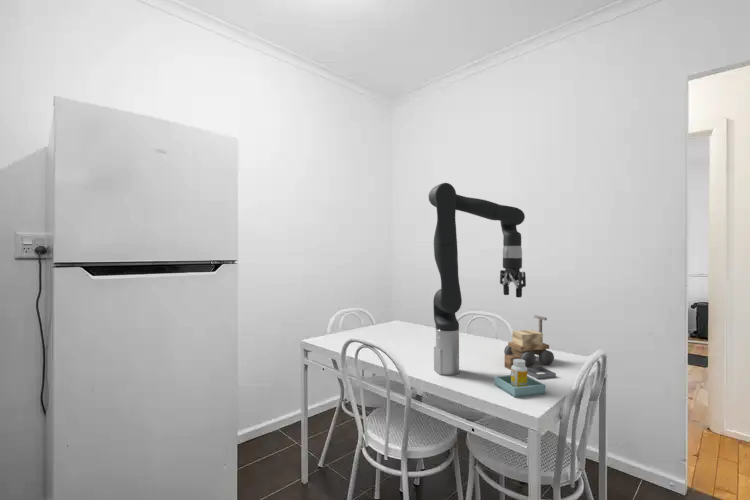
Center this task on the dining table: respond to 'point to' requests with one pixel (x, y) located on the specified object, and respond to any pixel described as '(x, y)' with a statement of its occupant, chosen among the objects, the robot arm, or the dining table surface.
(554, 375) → the square frame
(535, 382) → the tray
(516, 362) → the supplement bottle
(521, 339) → the trolley
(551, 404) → the dining table surface
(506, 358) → the block
